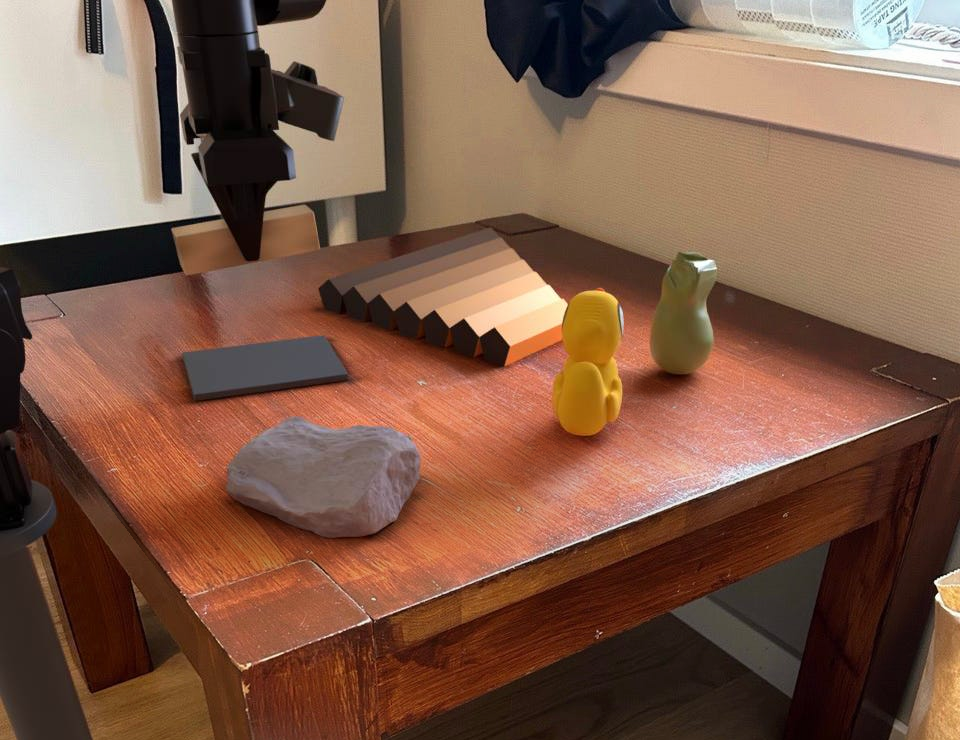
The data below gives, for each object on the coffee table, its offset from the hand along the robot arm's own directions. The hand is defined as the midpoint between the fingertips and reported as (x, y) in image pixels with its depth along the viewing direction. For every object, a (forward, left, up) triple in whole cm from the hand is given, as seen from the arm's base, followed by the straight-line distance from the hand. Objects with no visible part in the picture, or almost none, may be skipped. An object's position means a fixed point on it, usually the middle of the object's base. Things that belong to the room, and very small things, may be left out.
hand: (249, 255), depth 79 cm
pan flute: (+25, +11, -10) cm, 29 cm away
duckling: (+22, -19, -10) cm, 31 cm away
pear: (+34, -12, -10) cm, 37 cm away
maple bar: (0, 0, 0) cm, 0 cm away
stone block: (0, -24, -10) cm, 26 cm away
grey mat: (0, +1, -10) cm, 10 cm away
